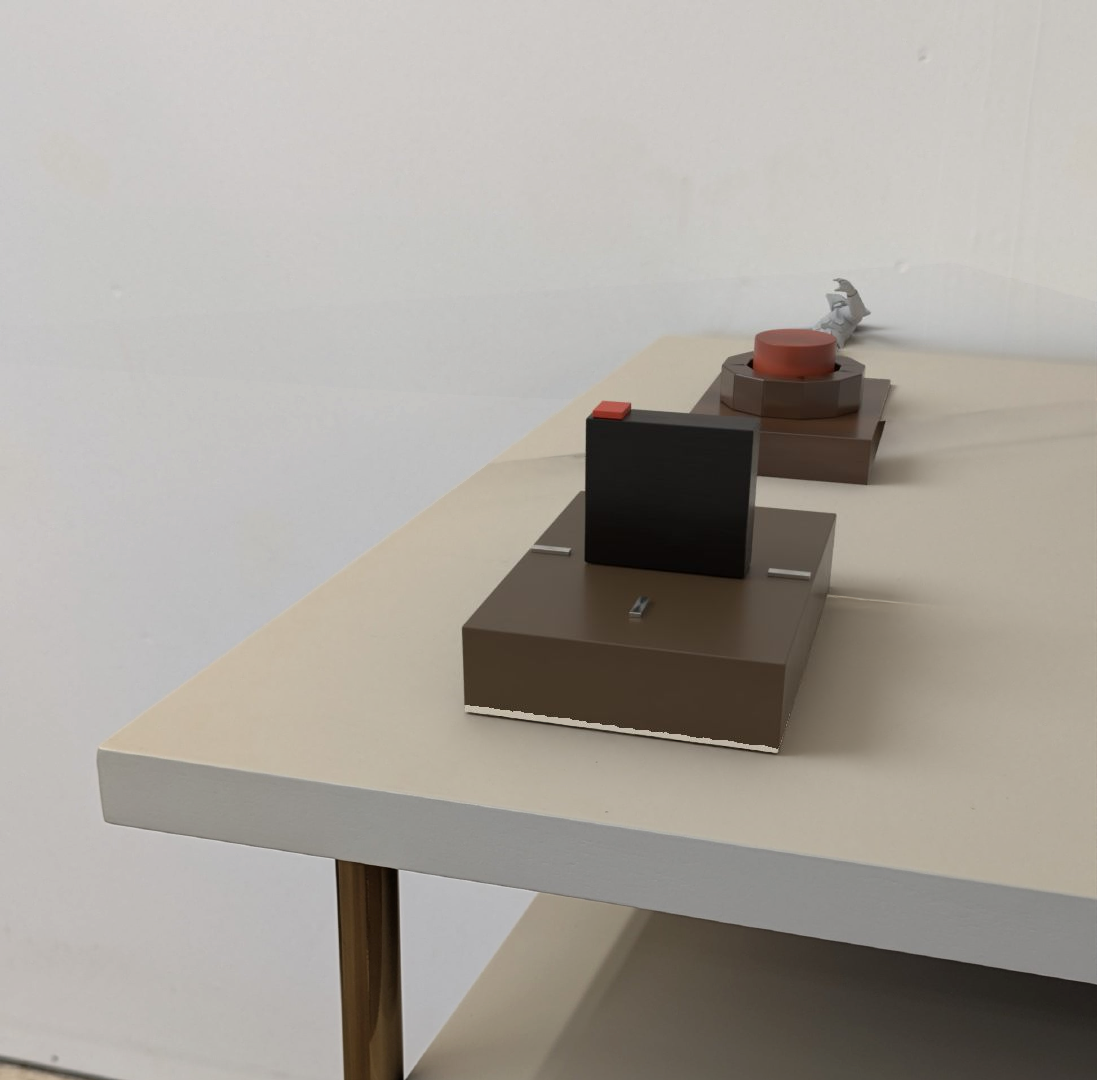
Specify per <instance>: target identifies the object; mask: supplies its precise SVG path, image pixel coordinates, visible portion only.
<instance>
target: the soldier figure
mask: <svg viewBox="0 0 1097 1080" xmlns="http://www.w3.org/2000/svg"><path fill="white" fill-rule="evenodd" d="M832 281H833V282H837V283H838V287H837V288H835V289H834V290H833V291H834V292H836V293H829V292H828V293H826V294H825V297H826V300H827V303H828V305H829V311H830V312H828V313H827V314H826V315H825V316H823V317H822V318H820V319H819V321H818V322H817V323H816V324H815V325H814V326H813V328H812V330H815V331H821V332H825V333H828V334H831V335H833V336H835V337H836V338H837V346H836V353H838V352H839V349H841V350H843V349H845V346H844V345H845V342H846V341H848V340H851V336H852V335H853V333H854V332H855V330H856V328H857V327H858V325H859V324H860V323H861V322H862V320H863V318H865V317H868V316H870V315H871V314H872V313H871V312H872V311H871V310H869V309H868V308H867V307H866V306H865V303H864V302H863V300H862V297H861V295H860V294H859V291H858V289H856V288H855V287H854V285H853V284H852V283H851V282H850V281H849V280H848V279H845V278H842V277H841V278H840V277H838V278H833V279H832ZM837 292H841V293H846V297H845V296H844V295H841V294H838V293H837Z"/></svg>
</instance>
